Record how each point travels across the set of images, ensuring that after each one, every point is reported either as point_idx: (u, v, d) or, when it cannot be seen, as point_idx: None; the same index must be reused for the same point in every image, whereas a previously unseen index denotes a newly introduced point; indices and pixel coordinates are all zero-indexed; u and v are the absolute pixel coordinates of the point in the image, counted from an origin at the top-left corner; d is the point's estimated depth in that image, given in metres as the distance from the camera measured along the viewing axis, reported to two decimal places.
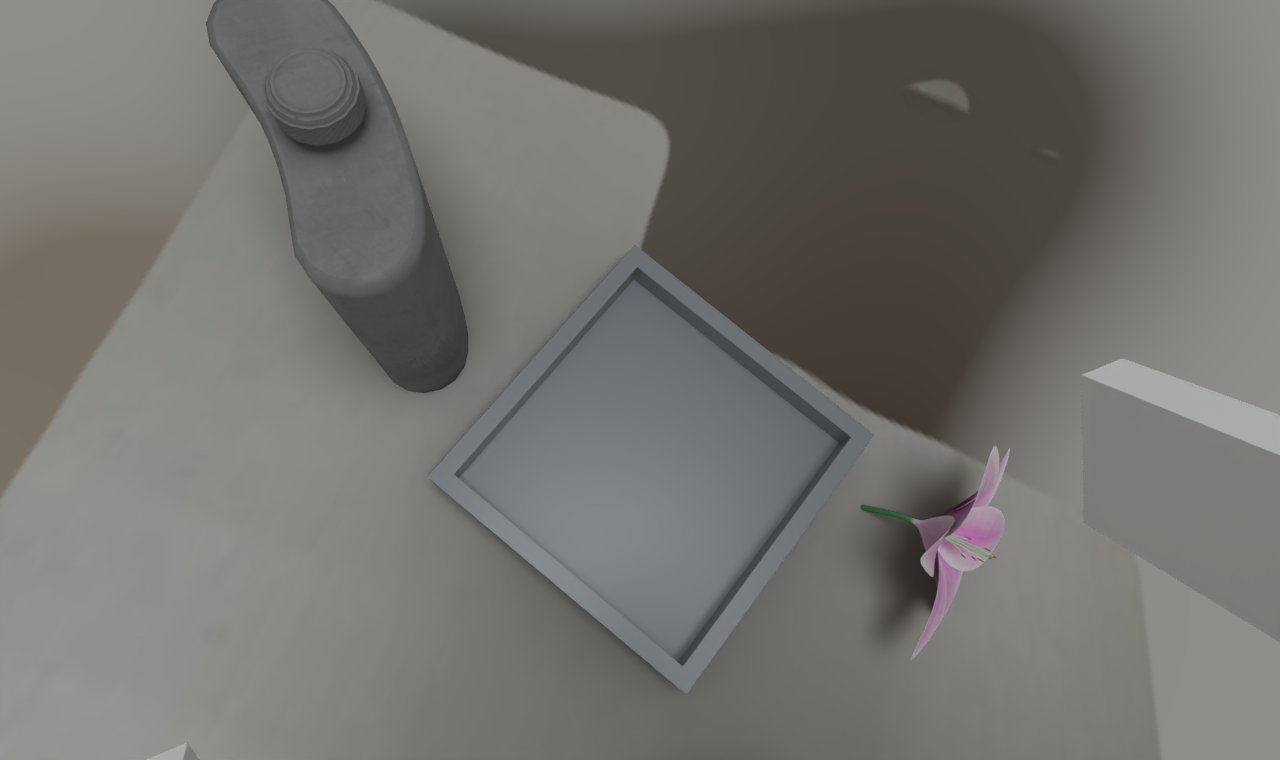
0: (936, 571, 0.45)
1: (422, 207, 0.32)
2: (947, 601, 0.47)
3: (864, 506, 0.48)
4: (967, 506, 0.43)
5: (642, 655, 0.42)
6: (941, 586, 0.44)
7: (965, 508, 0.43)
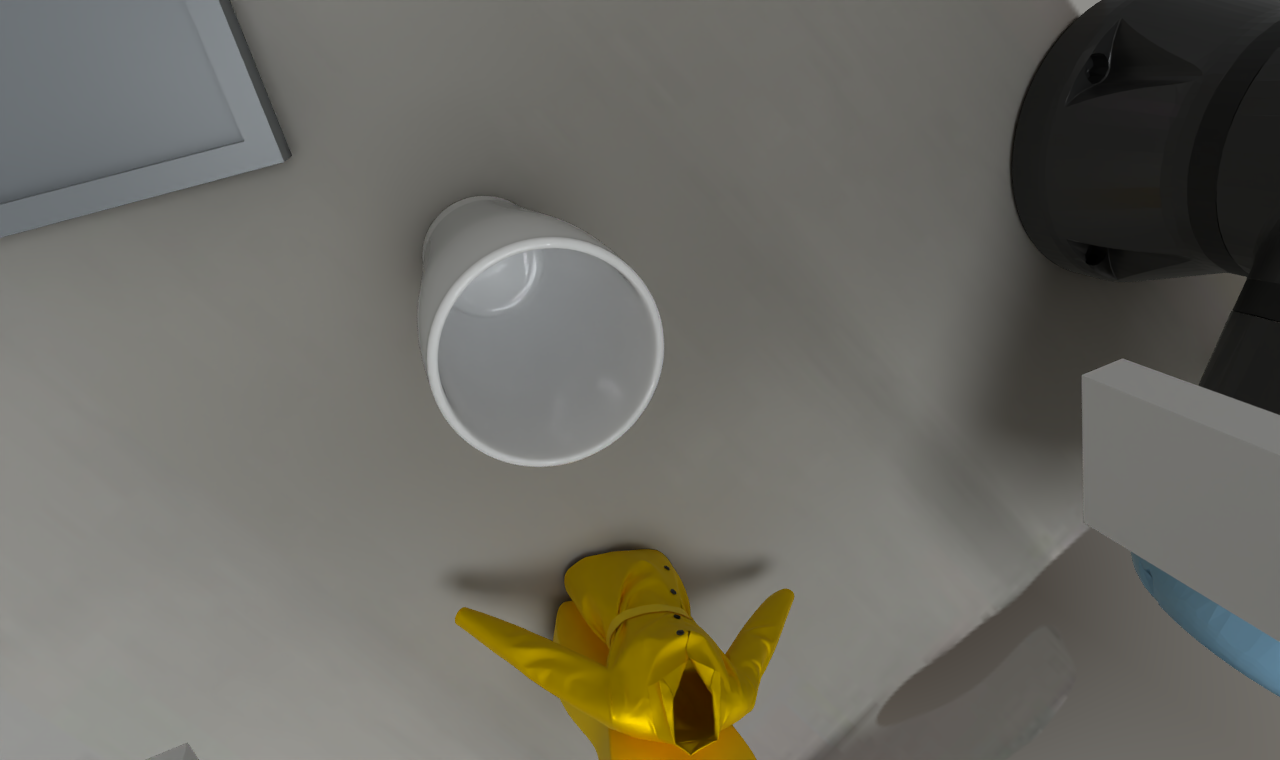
0: None
1: None
2: None
3: None
4: None
5: (196, 182, 0.28)
6: None
7: None
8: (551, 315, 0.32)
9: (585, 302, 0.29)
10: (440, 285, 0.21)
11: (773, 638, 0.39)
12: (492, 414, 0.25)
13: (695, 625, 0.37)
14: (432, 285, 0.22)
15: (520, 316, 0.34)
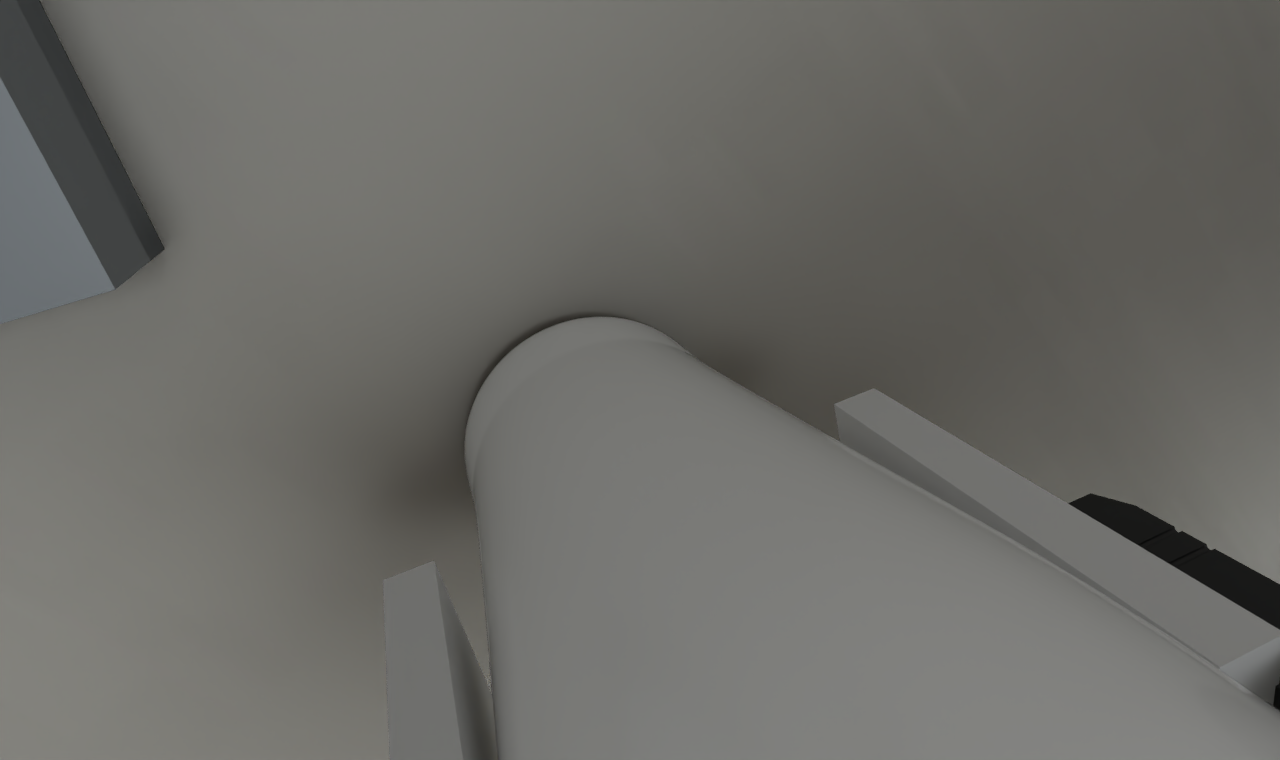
0: None
1: None
2: None
3: None
4: None
5: None
6: None
7: None
8: None
9: None
10: None
11: None
12: None
13: None
14: None
15: None
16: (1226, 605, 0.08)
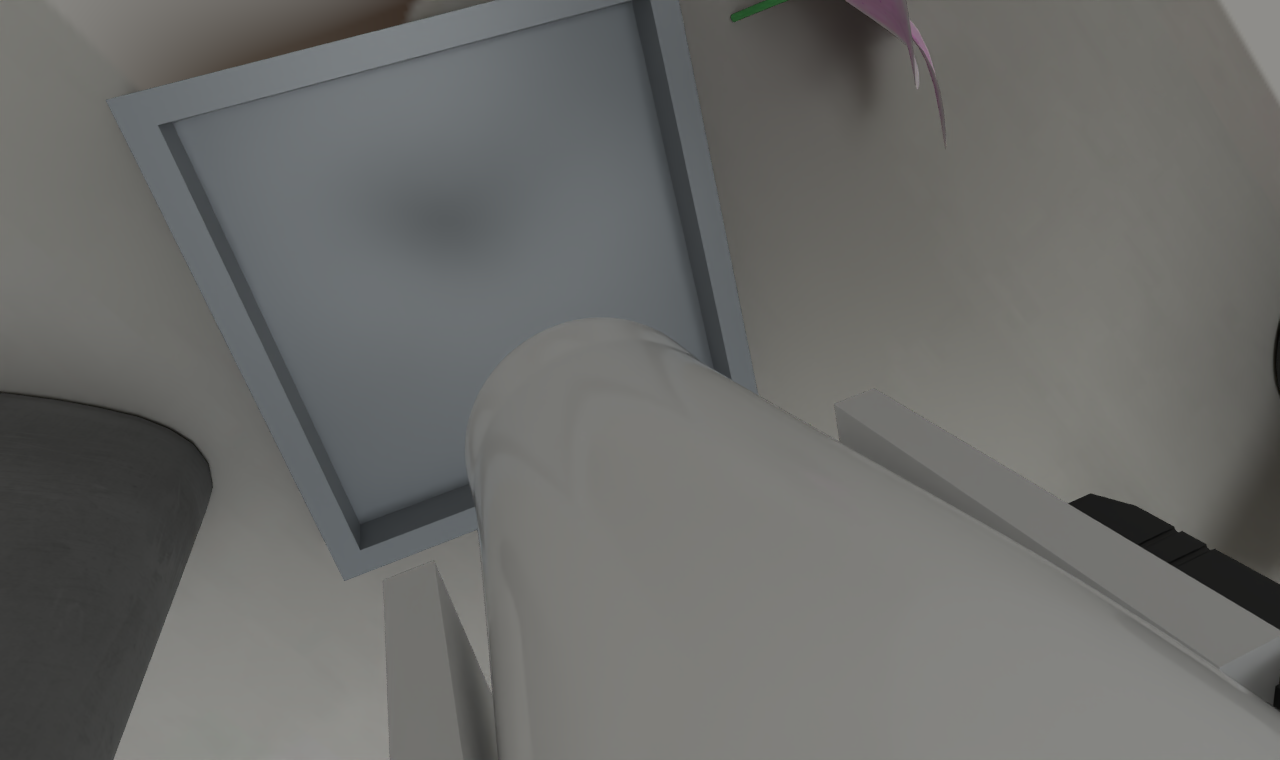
0: None
1: None
2: None
3: (735, 16, 0.31)
4: None
5: None
6: (911, 32, 0.29)
7: None
8: None
9: None
10: None
11: None
12: None
13: None
14: None
15: None
16: (1226, 605, 0.08)
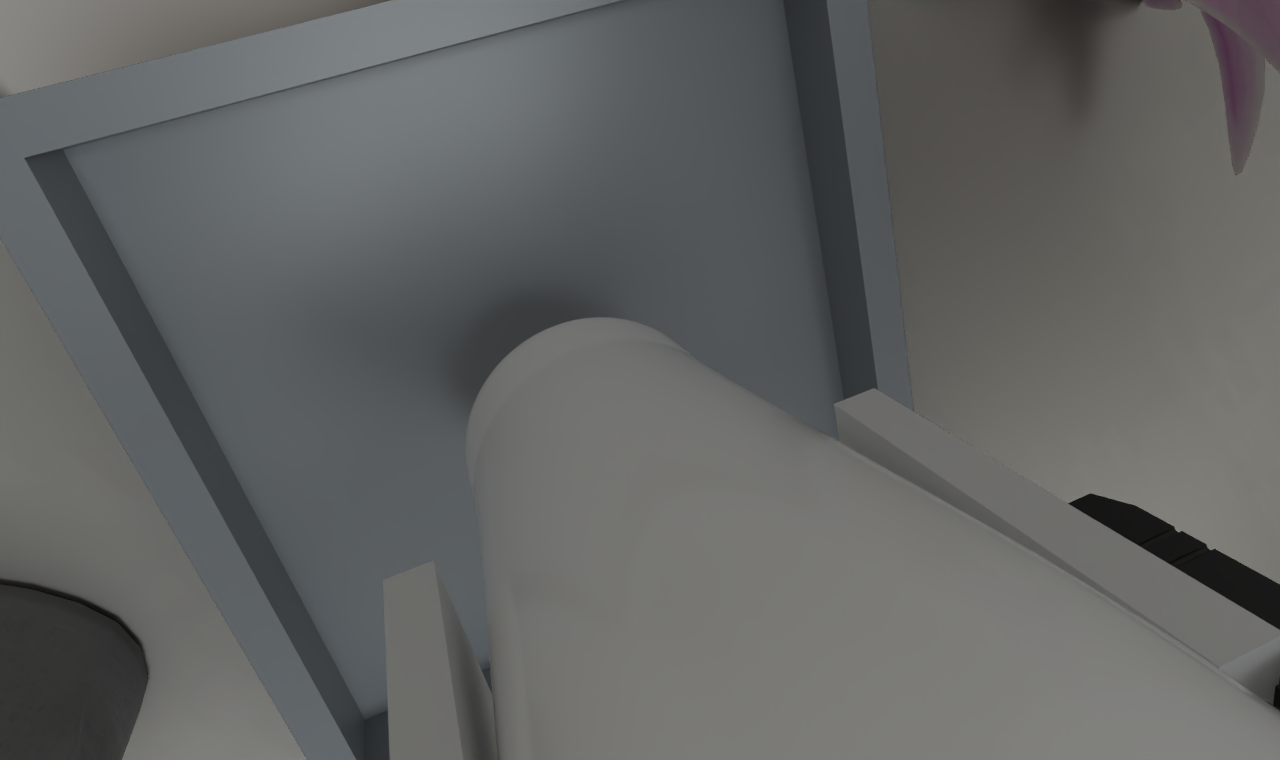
0: None
1: None
2: None
3: None
4: None
5: None
6: None
7: None
8: None
9: None
10: None
11: None
12: None
13: None
14: None
15: None
16: (1225, 605, 0.08)
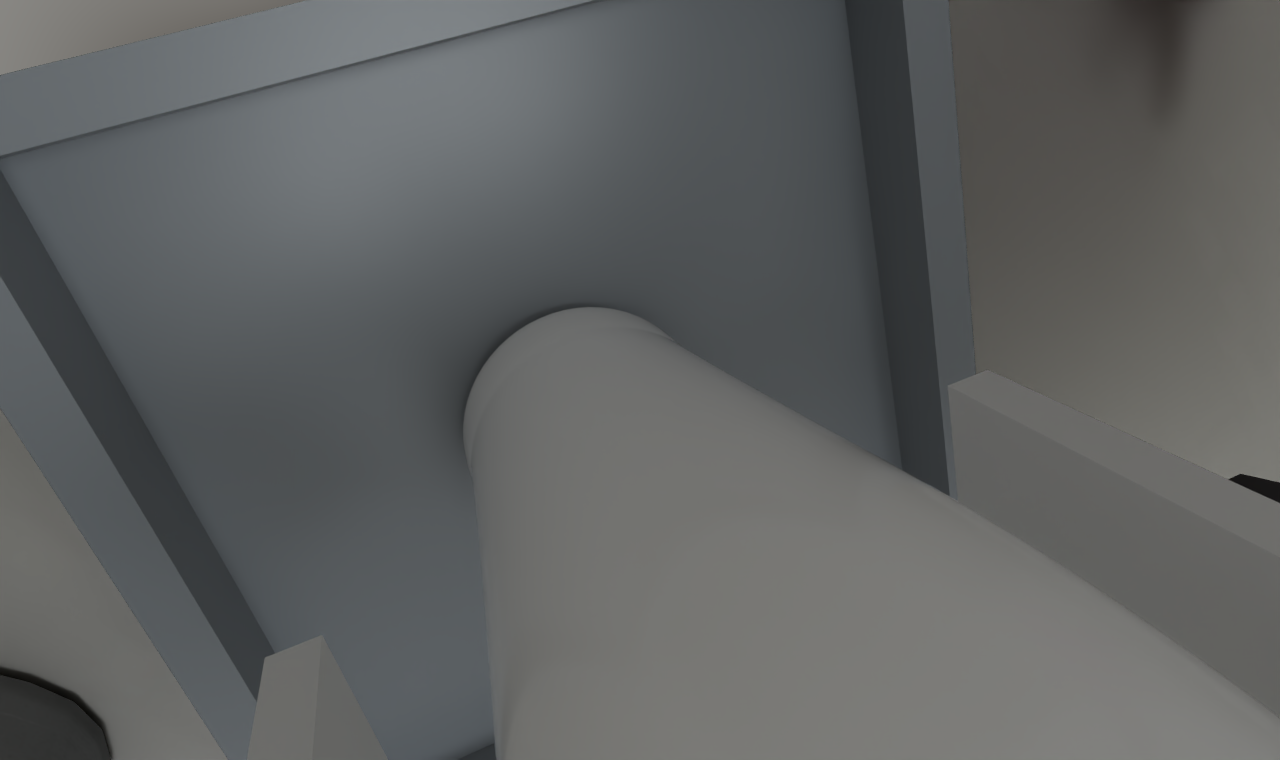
0: None
1: None
2: None
3: None
4: None
5: None
6: None
7: None
8: None
9: None
10: None
11: None
12: None
13: None
14: None
15: None
16: None
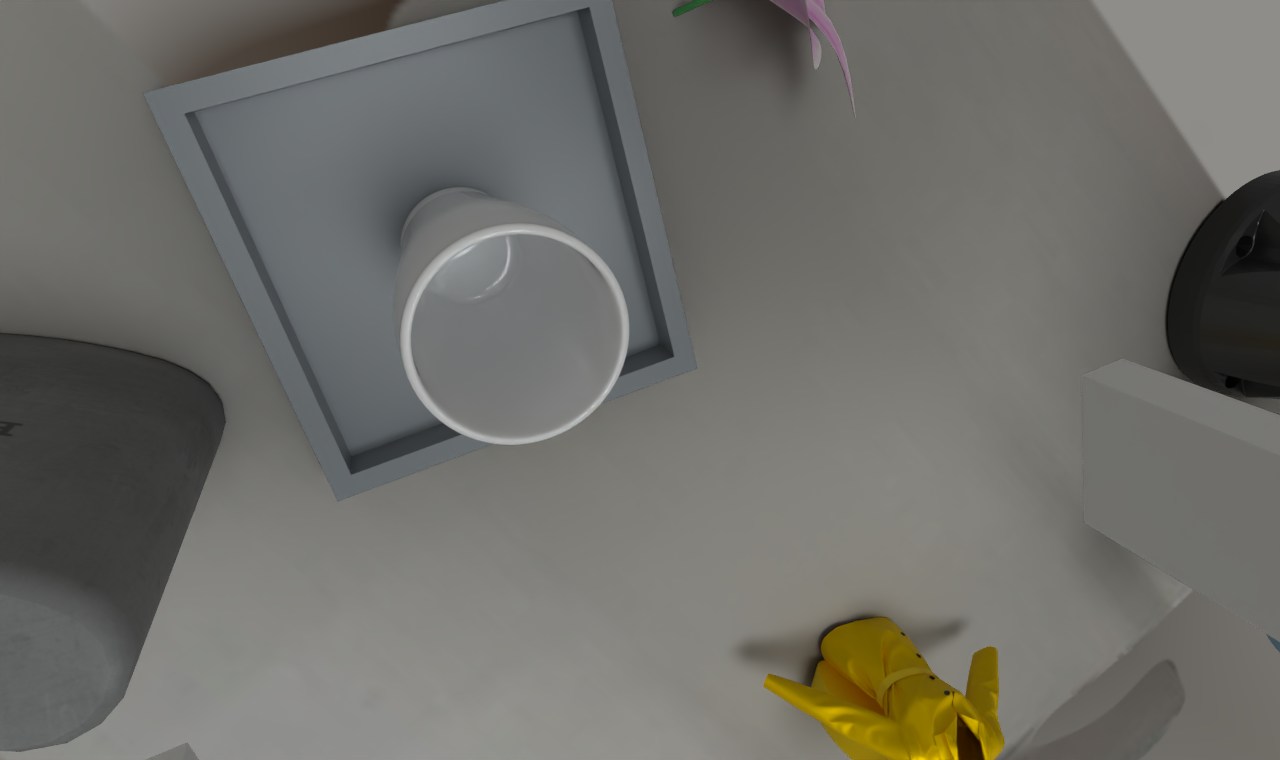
0: None
1: (11, 579, 0.19)
2: (821, 3, 0.38)
3: (676, 11, 0.36)
4: None
5: (640, 387, 0.39)
6: (822, 22, 0.35)
7: None
8: (526, 302, 0.33)
9: (557, 288, 0.30)
10: (412, 271, 0.22)
11: (996, 690, 0.50)
12: (467, 396, 0.26)
13: (946, 683, 0.48)
14: (405, 272, 0.23)
15: (497, 304, 0.35)
16: None
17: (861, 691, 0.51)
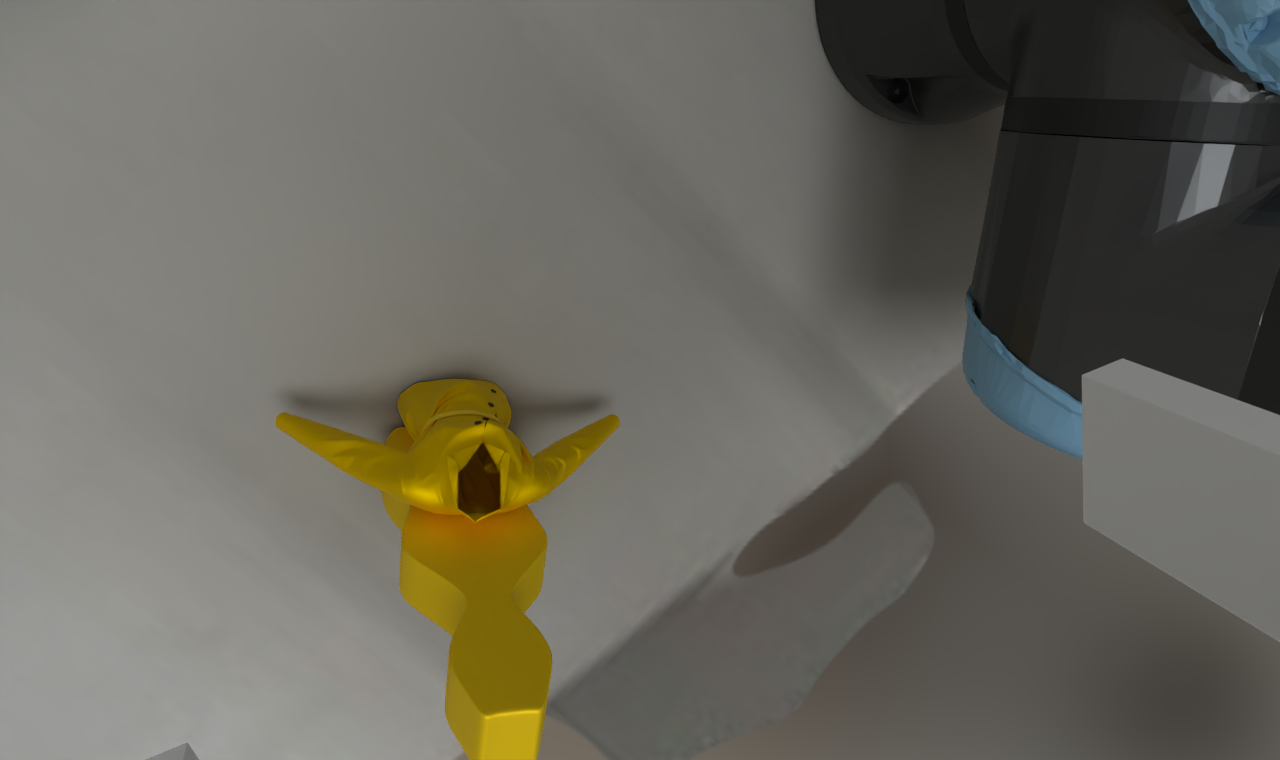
0: None
1: None
2: None
3: None
4: None
5: None
6: None
7: None
8: None
9: None
10: None
11: (586, 447, 0.42)
12: None
13: (503, 427, 0.40)
14: None
15: None
16: None
17: None
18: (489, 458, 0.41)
